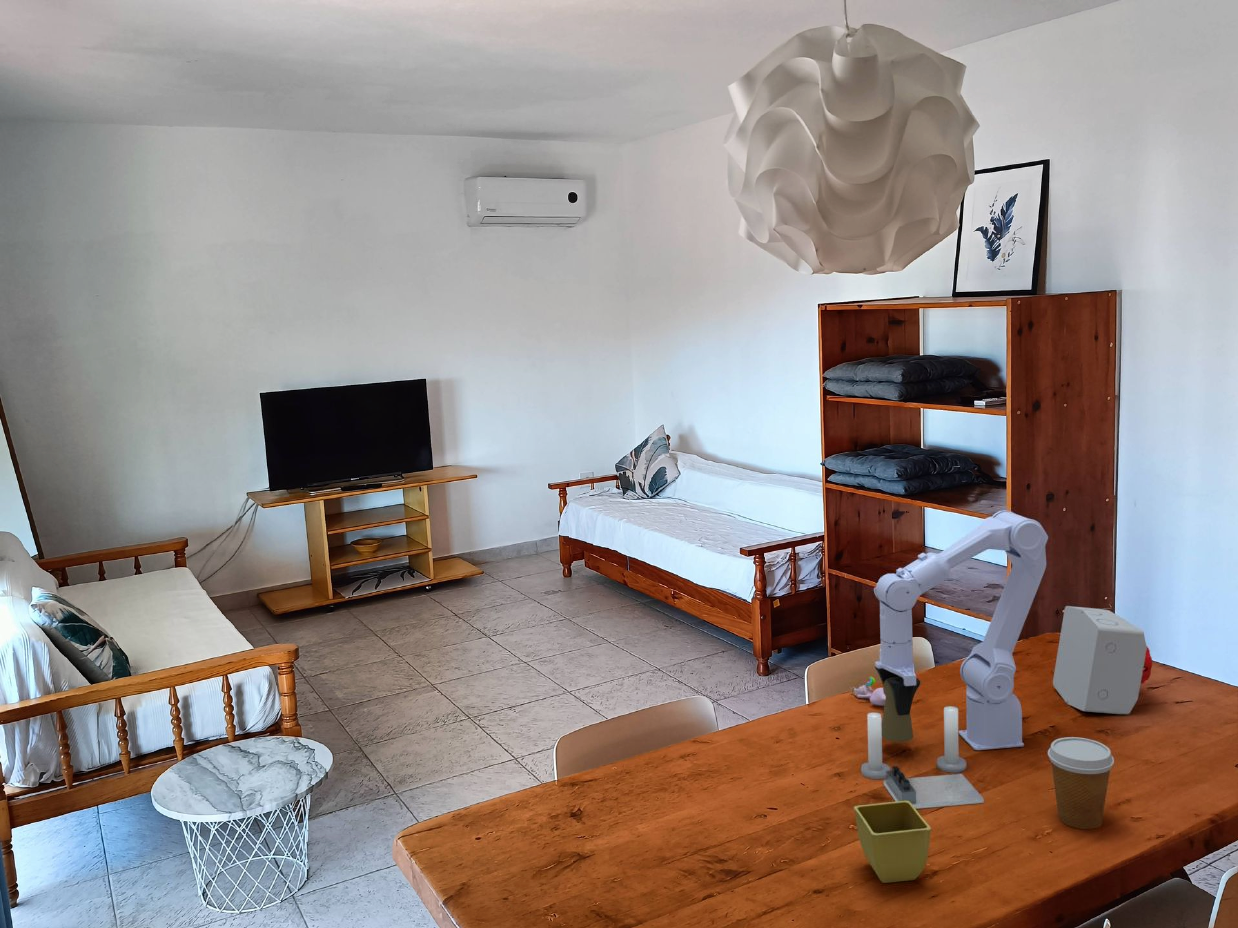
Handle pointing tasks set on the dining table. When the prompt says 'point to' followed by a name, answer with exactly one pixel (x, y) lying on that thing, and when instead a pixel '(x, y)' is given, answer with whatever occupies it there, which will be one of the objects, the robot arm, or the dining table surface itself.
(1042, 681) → the dining table surface
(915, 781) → the board
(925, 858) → the flower pot
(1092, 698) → the electrical switch box
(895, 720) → the cork
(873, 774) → the post
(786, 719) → the dining table surface
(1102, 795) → the disposable coffee cup
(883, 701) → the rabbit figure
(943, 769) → the post
